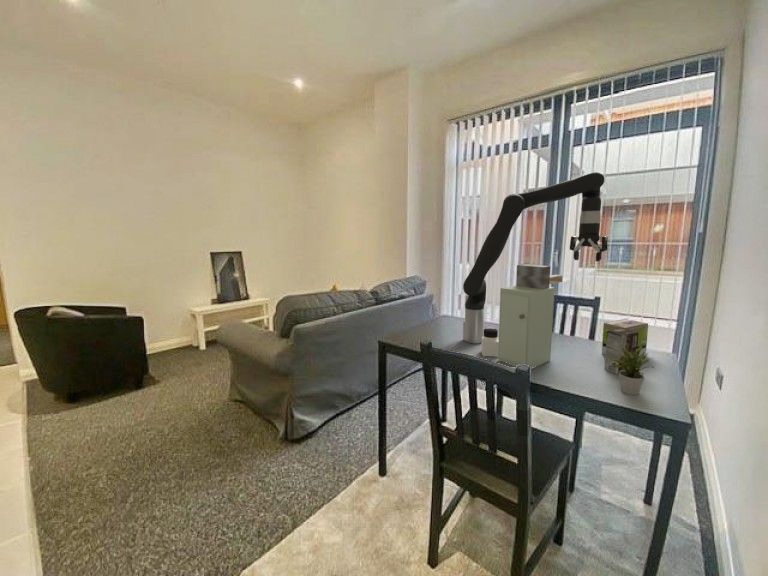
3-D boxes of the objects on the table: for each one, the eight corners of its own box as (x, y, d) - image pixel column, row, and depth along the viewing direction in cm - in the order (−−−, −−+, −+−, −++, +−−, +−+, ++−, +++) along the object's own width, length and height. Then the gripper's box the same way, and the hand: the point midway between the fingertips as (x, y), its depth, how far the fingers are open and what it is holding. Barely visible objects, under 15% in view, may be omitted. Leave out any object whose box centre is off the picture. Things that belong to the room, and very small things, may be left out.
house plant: (611, 377, 131) (615, 336, 128) (657, 389, 121) (662, 344, 119) (600, 389, 122) (603, 345, 119) (648, 403, 112) (654, 355, 109)
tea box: (623, 348, 161) (626, 317, 159) (646, 355, 152) (650, 323, 149) (600, 353, 156) (603, 321, 154) (622, 361, 147) (625, 327, 144)
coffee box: (620, 365, 142) (624, 327, 139) (635, 371, 136) (639, 332, 133) (603, 368, 140) (606, 330, 137) (617, 374, 134) (621, 334, 131)
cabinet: (495, 361, 150) (498, 288, 144) (521, 351, 160) (524, 283, 155) (525, 371, 138) (529, 293, 133) (550, 360, 149) (554, 287, 144)
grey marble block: (516, 285, 150) (517, 265, 148) (546, 280, 163) (547, 261, 162) (542, 289, 140) (543, 267, 139) (572, 282, 154) (573, 262, 152)
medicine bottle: (499, 357, 154) (499, 331, 152) (482, 356, 155) (483, 330, 153) (497, 351, 161) (498, 326, 159) (481, 351, 162) (481, 326, 160)
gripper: (568, 222, 149) (565, 260, 152) (604, 222, 138) (600, 262, 141) (576, 222, 154) (574, 259, 156) (612, 221, 142) (609, 261, 145)
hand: (586, 260), depth 149 cm, fingers open, 8 cm apart
